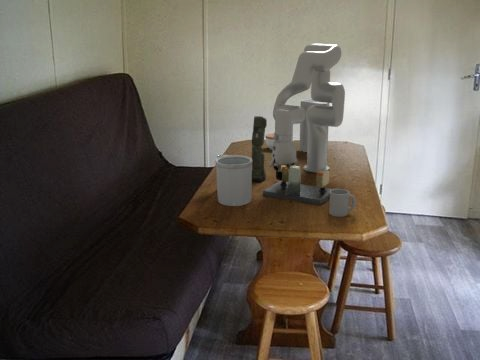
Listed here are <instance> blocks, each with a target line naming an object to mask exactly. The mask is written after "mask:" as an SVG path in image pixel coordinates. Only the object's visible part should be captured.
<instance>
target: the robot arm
mask: <svg viewBox="0 0 480 360" xmlns="http://www.w3.org/2000/svg"><path fill="white" fill-rule="evenodd" d="M341 57H342V48H341V47H340V46H339V45H338V44H331V43H329V44H328V43H327V44H326V43H309V44H307V45H306V46H305V47H304V49H303V52H301V53H300V54H299V56H298V58H297V63H296V64H295V65H296V66H295V69H294V72H293V75H292V79H291V81H290V82H289V83H288V84H286V86H284V87H283V89H281V91H280V92H279V93H278V94H277V96H276V99H275V102H274V105H273V111H272V117H273V119H274V132H275V136H274V137H273V140H275V141H274V143H273V149H272V150H271V160H270V163H269V167H271V168H273V170H275V178H276V180H277V181H281V179H282V172H281V166H286V167H289V169H290V167H291V166H293V165H294V166H295V165H296V163H298V161H299V160H298V157H297V149H296V142H295V140H294V139H293V138H294V137H293V134H294V125H298V124H299V125H300V123H301V122H303V121H304V119H305V117H306V119H307V126H308V142H307V153H306V164H305V165H304V166H303V170H304V171H305V172H307V173H314V174H315V173H316V174H317V172H323V171H330V169H331V168H330V166H328V165H327V164H328V163H327V162H328V158H327V157H328V149H327V139H328V140H329V133H328V134H327V131H326V129H325V127H324V126H328V127H331V128H332V127H335V128H338V127H339V126H341V125H342V124H343V121H344V111H345V97H346V90H345V87H344V85H343V84H342V83H340V82H333V81H332V82H331V69H332V68H333V67H334V66H336V65H337V64H338V63H339V62H340V60H341ZM309 89H310V99H312V100H313V101H316V102H324V103H329V104H331V105H329V106H326V105H312V106H310V107H309V108H308V109H307V112H306V111H305V109H304V108H303V107H301V105H290V104H286V103H287V101H288V100H289V99H290V98H292V97H293V96H295V95H299V94H300V93H304V92H305V91H308V90H309Z"/></svg>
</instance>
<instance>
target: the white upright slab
mask: <svg viewBox="0 0 480 360" xmlns="http://www.w3.org/2000/svg"><path fill="white" fill-rule="evenodd" d="M312 105H326V106H330V103H324V102H316V101H313V100H312V98H310V99H308V98H307V99H301V100H300V107H303V108H304V109H305V111H306V112H307V109H308V108H309V107H310V106H312ZM324 127H325V129H326V131H327V134H328V135H329V126H324ZM307 142H308V126H307V119H306V117H305V119H304V121H303V122H301V123H299V152H301V151H303V152H302V153H305V152H307ZM328 147H329V138H328V139H327V150H328Z"/></svg>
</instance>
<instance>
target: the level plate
mask: <svg viewBox="0 0 480 360" xmlns="http://www.w3.org/2000/svg"><path fill="white" fill-rule="evenodd" d="M301 175H302V170H301V166H300V165H295V164H294V165H293V166H291V167H290V169H289V175H288V182H286V184H281V180H277V182H276V183H274V184H272V185H270V186H268V187H266V188H265V189H263V190H262V196H265V197H272V198H277V199H278V198H279V199H284V200H290V201H294V202H295V201H296V202H302V203H308V204H312V205H313V204H314V205H320V206H321V205H323V204H324V203H326V201H328V200H330V190H332V189H333V188H330V187H325V190H320V187H316V185H315V186H313V185H307V184H301V181H302V179H301V178H302V177H301Z"/></svg>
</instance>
